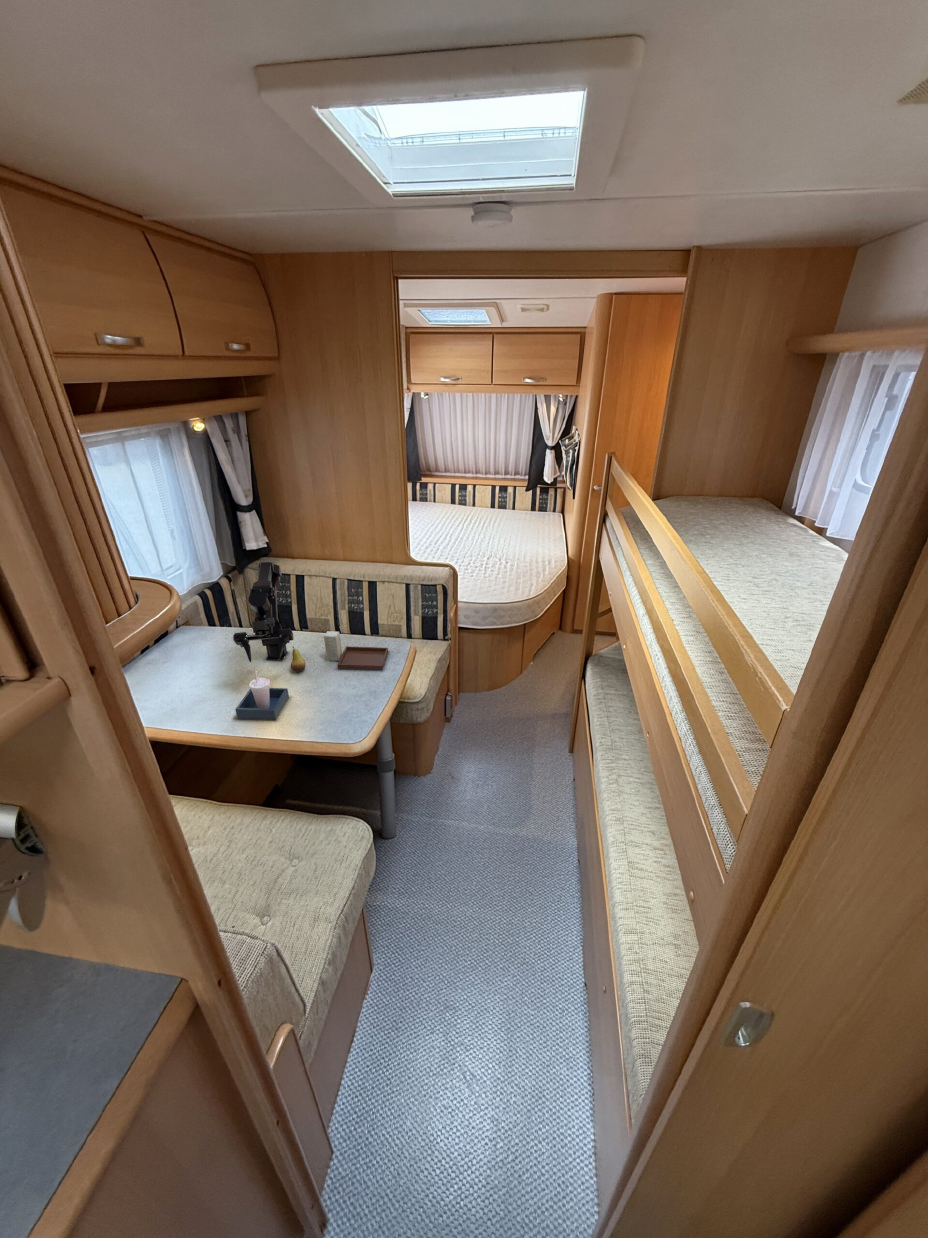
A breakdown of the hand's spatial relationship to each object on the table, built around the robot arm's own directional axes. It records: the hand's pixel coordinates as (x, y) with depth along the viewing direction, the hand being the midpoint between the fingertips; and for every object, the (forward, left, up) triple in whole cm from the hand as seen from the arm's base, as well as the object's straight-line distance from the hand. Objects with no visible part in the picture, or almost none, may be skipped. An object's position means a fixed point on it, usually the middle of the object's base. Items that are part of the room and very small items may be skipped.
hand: (264, 660), depth 167 cm
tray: (+28, +25, -14) cm, 40 cm away
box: (+16, +26, -14) cm, 33 cm away
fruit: (+5, +16, -14) cm, 22 cm away
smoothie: (+1, -8, -14) cm, 16 cm away
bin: (+1, -8, -14) cm, 16 cm away
